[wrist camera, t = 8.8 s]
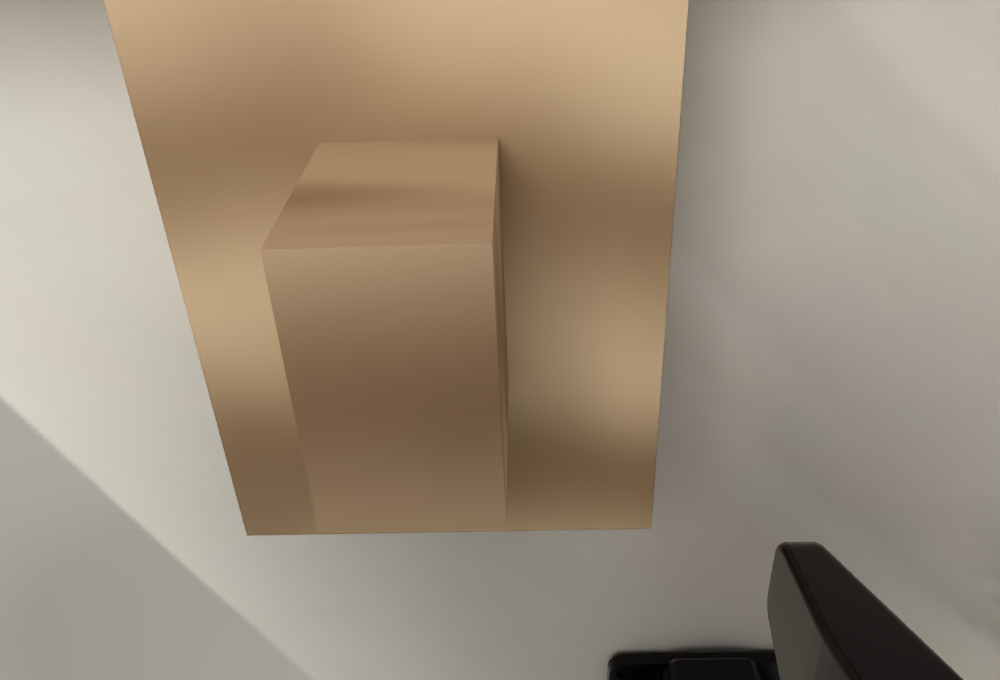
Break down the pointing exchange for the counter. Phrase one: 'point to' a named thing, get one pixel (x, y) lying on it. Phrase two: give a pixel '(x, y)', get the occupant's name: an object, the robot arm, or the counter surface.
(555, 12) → the lid
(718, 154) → the counter surface
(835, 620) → the robot arm
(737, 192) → the counter surface
